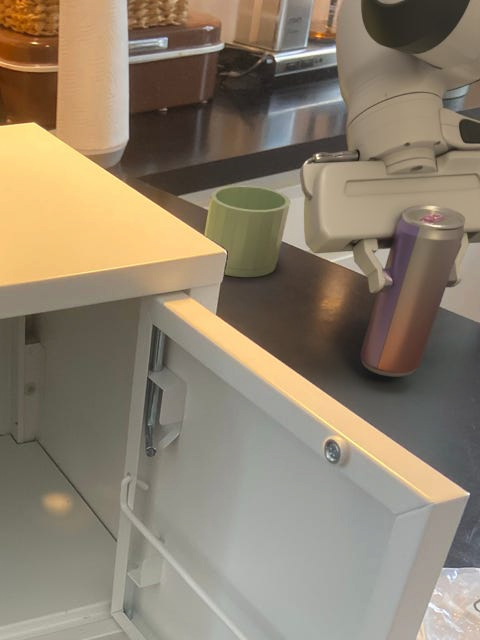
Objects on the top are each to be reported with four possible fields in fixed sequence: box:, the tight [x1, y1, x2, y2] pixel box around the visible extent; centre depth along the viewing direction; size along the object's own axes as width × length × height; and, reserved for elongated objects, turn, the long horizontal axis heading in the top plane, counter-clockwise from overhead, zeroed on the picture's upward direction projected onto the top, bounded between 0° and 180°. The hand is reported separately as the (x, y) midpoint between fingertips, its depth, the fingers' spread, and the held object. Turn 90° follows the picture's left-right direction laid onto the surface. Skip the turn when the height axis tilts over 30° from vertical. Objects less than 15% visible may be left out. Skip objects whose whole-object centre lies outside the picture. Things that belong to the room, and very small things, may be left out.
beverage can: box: [359, 206, 466, 378], centre depth 93 cm, size 6×6×15 cm
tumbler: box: [203, 184, 291, 278], centre depth 120 cm, size 10×10×8 cm
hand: (416, 288), depth 92 cm, fingers closed on beverage can, 6 cm apart
